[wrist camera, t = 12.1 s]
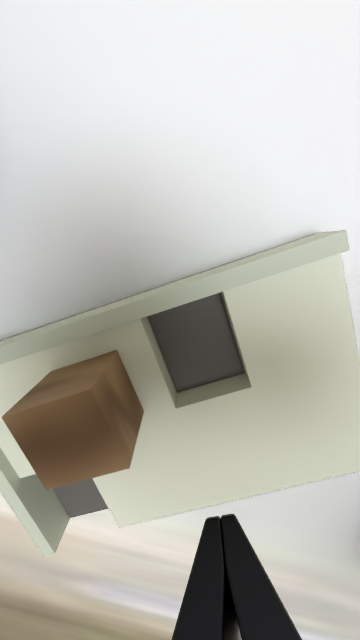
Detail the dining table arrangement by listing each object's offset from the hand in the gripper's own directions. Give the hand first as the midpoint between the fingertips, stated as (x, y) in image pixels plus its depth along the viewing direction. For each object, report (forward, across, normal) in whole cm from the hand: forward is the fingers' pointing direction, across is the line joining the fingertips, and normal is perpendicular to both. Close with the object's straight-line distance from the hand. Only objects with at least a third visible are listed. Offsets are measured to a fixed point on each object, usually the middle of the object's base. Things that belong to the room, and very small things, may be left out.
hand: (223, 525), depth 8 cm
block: (+9, +7, 0) cm, 11 cm away
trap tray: (+11, +3, +3) cm, 12 cm away
